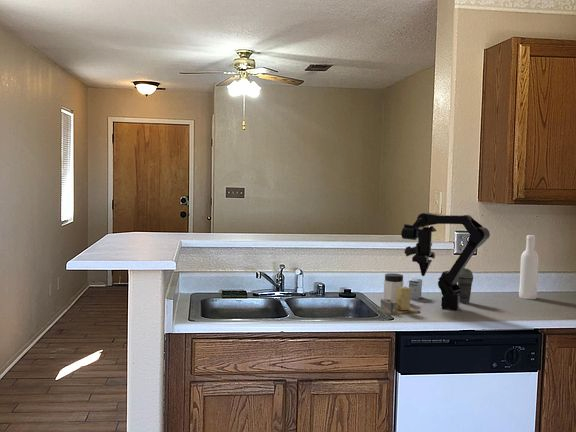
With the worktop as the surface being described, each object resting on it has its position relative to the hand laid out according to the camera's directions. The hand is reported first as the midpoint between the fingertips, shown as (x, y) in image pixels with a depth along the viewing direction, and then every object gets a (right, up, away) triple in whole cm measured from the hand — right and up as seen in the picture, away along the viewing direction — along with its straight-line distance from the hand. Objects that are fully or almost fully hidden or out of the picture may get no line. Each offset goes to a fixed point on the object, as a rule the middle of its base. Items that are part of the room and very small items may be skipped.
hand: (423, 275), depth 265 cm
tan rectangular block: (-15, -12, -16) cm, 25 cm away
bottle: (+55, -13, +20) cm, 59 cm away
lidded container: (-12, -12, +6) cm, 18 cm away
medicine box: (-1, -12, +13) cm, 18 cm away
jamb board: (-13, -13, -15) cm, 24 cm away
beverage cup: (+20, -13, +6) cm, 24 cm away
